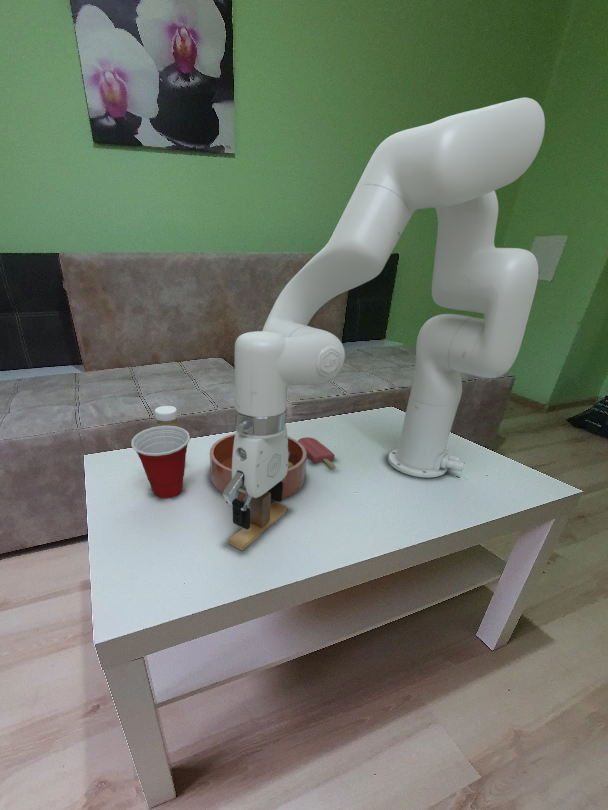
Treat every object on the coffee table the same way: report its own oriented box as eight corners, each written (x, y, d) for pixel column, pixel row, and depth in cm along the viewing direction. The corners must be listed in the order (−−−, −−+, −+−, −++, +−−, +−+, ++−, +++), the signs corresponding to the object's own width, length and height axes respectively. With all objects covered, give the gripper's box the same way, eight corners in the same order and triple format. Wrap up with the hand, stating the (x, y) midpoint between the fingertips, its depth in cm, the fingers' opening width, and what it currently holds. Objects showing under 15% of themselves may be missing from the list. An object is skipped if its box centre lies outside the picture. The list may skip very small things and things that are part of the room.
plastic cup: (128, 500, 75) (117, 444, 69) (158, 473, 84) (151, 422, 77) (177, 511, 72) (171, 454, 66) (203, 482, 81) (199, 430, 74)
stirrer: (274, 505, 74) (276, 473, 70) (287, 510, 72) (290, 479, 69) (228, 544, 64) (227, 509, 60) (242, 551, 63) (242, 516, 59)
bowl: (320, 471, 85) (323, 446, 82) (270, 514, 71) (271, 487, 68) (248, 446, 95) (248, 424, 92) (191, 480, 81) (189, 455, 78)
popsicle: (323, 466, 84) (294, 438, 96) (322, 472, 84) (293, 444, 96) (345, 462, 85) (313, 435, 97) (344, 468, 86) (312, 441, 98)
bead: (292, 463, 83) (295, 476, 83) (278, 465, 83) (281, 478, 83) (293, 458, 81) (296, 472, 80) (279, 460, 81) (282, 474, 80)
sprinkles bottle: (157, 465, 87) (150, 408, 80) (174, 458, 90) (168, 403, 83) (168, 472, 84) (162, 414, 77) (186, 465, 87) (181, 409, 80)
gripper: (245, 447, 50) (245, 547, 59) (310, 408, 62) (302, 496, 71) (203, 432, 54) (209, 528, 63) (271, 399, 66) (268, 483, 75)
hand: (258, 511), depth 67 cm, fingers open, 9 cm apart
